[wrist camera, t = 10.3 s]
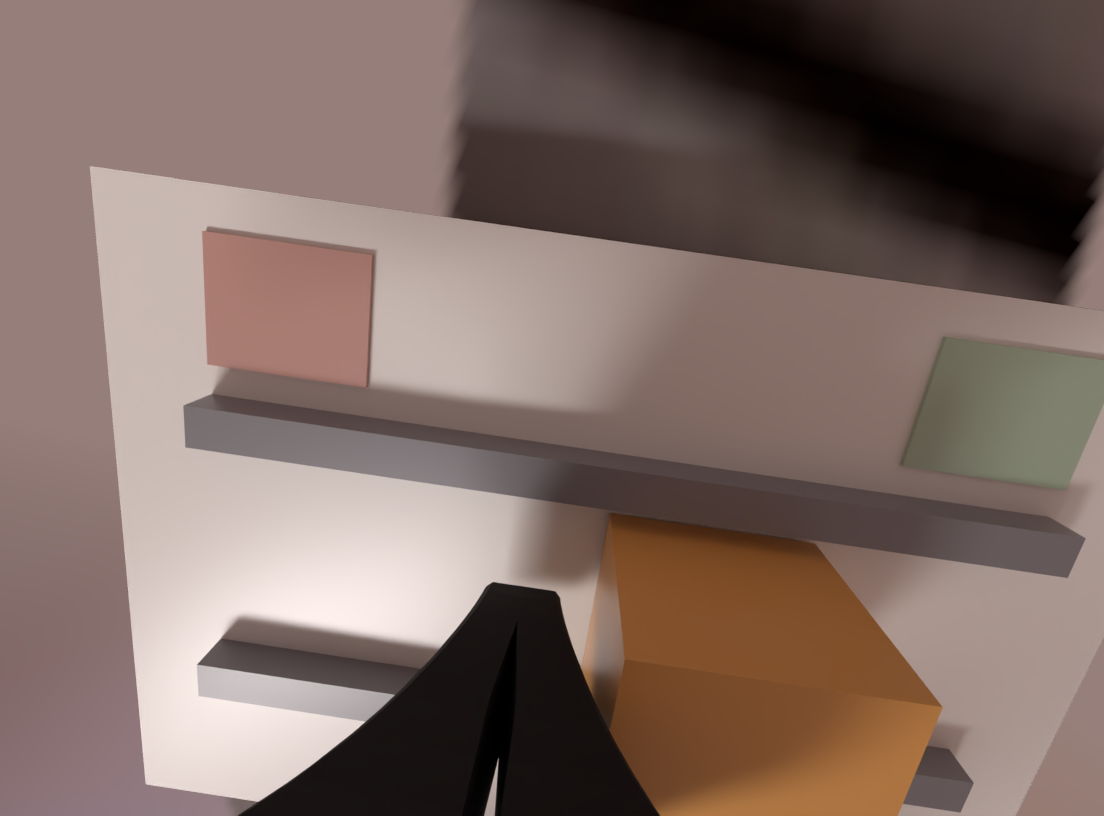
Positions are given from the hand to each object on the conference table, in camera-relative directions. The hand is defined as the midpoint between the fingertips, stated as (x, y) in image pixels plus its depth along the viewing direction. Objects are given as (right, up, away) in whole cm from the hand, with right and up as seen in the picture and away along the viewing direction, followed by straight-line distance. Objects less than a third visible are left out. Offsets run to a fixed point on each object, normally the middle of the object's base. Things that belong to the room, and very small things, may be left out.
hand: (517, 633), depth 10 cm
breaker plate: (+2, +1, +3) cm, 4 cm away
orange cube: (+4, 0, +1) cm, 4 cm away
